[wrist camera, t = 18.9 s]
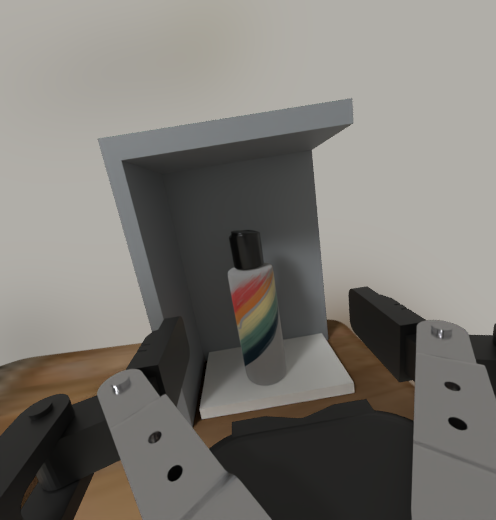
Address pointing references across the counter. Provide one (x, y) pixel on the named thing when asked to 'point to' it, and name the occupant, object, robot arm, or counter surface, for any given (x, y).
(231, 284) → the lotion bottle
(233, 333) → the open shelf
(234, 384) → the shelf mat
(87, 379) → the counter surface
